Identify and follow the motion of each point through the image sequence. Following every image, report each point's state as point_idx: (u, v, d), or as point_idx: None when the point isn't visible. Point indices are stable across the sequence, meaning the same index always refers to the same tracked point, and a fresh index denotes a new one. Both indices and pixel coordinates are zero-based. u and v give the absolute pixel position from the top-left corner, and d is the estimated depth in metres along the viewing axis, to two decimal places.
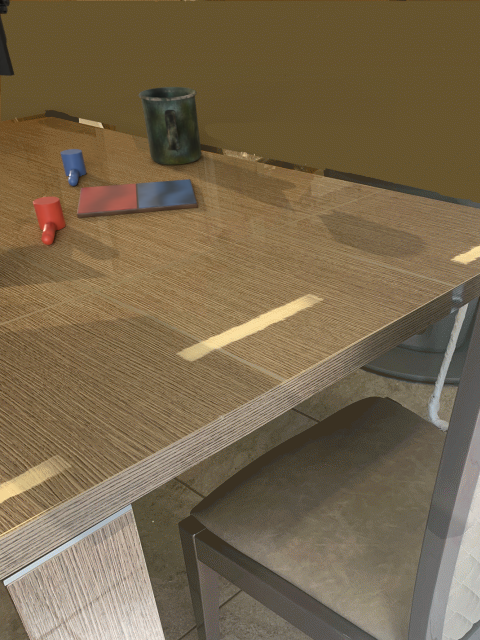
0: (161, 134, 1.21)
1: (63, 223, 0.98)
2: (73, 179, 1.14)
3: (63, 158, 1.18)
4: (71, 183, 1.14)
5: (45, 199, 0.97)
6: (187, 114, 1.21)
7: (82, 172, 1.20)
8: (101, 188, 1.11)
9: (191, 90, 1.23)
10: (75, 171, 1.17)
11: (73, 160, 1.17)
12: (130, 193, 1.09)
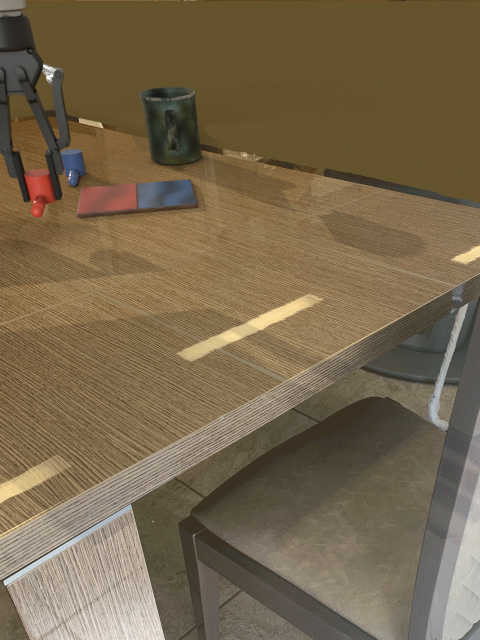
0: (161, 134, 1.21)
1: (54, 197, 0.96)
2: (73, 179, 1.14)
3: (63, 158, 1.18)
4: (71, 183, 1.14)
5: (36, 171, 0.94)
6: (187, 114, 1.21)
7: (82, 172, 1.20)
8: (101, 188, 1.11)
9: (191, 90, 1.23)
10: (75, 171, 1.17)
11: (73, 160, 1.17)
12: (130, 193, 1.09)
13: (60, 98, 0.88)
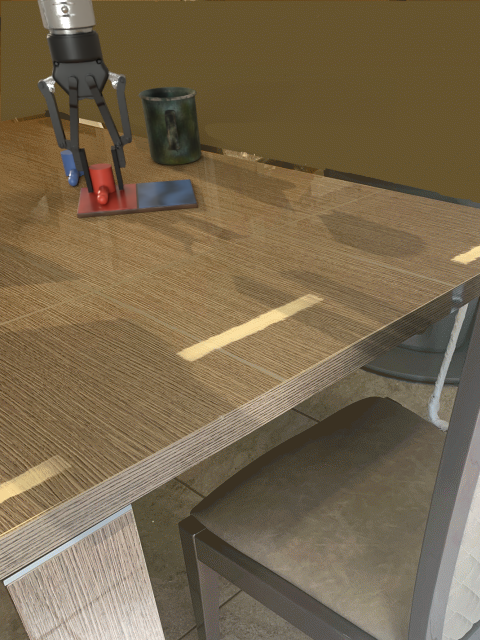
0: (161, 134, 1.21)
1: (114, 187, 1.10)
2: (73, 179, 1.14)
3: (63, 158, 1.18)
4: (71, 183, 1.14)
5: (99, 165, 1.08)
6: (187, 114, 1.21)
7: (82, 172, 1.20)
8: None
9: (191, 90, 1.23)
10: (75, 171, 1.17)
11: (73, 160, 1.17)
12: (130, 193, 1.09)
13: (124, 100, 1.02)
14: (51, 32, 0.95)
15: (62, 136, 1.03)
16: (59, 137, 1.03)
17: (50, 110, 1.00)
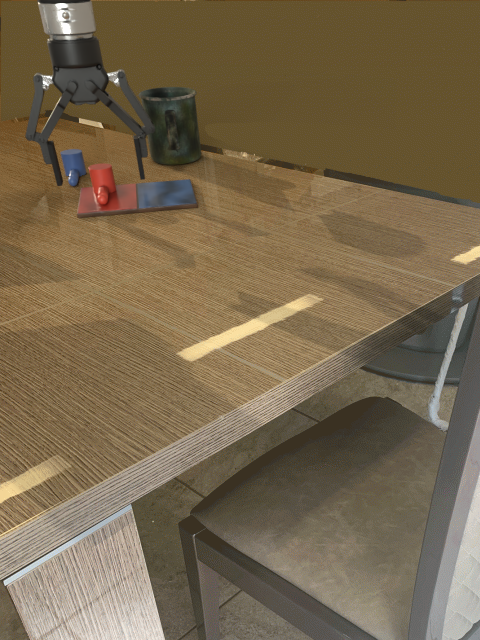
0: (161, 134, 1.21)
1: (114, 188, 1.10)
2: (73, 179, 1.14)
3: (63, 158, 1.18)
4: (71, 183, 1.14)
5: (99, 165, 1.08)
6: (187, 114, 1.21)
7: (82, 172, 1.20)
8: None
9: (191, 90, 1.23)
10: (75, 171, 1.17)
11: (73, 160, 1.17)
12: (130, 193, 1.09)
13: (131, 94, 1.02)
14: (52, 37, 0.95)
15: (34, 130, 1.02)
16: (30, 129, 1.01)
17: (34, 103, 0.99)
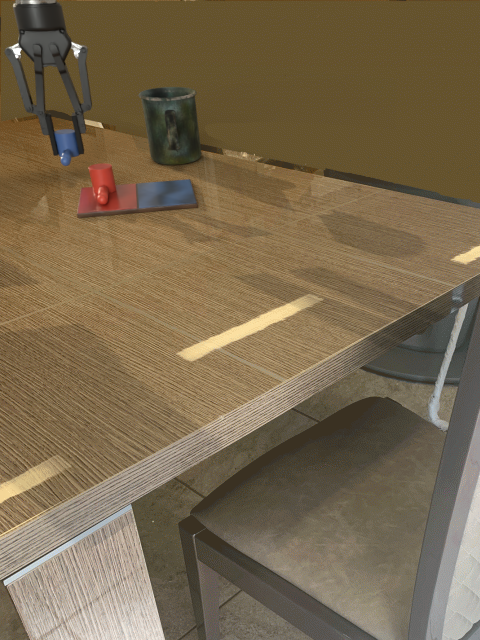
0: (161, 134, 1.21)
1: (114, 188, 1.10)
2: (65, 159, 1.11)
3: (56, 138, 1.15)
4: (63, 163, 1.12)
5: (99, 165, 1.08)
6: (187, 114, 1.21)
7: (75, 153, 1.17)
8: None
9: (191, 90, 1.23)
10: (68, 151, 1.15)
11: (66, 140, 1.15)
12: (130, 193, 1.09)
13: (85, 69, 1.10)
14: (17, 2, 1.02)
15: (29, 101, 1.11)
16: (26, 101, 1.11)
17: (17, 76, 1.08)
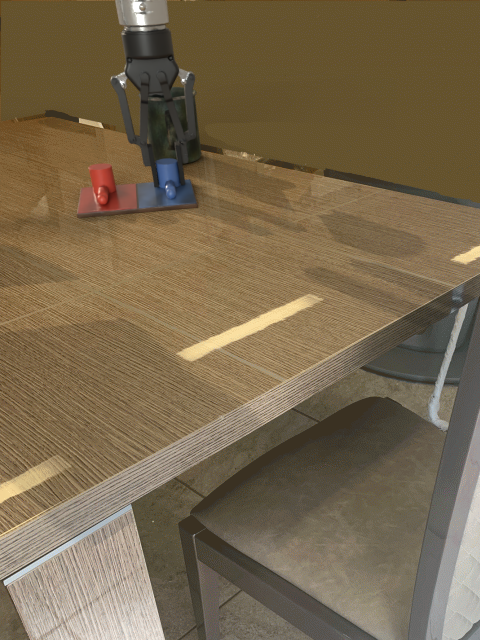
0: (161, 134, 1.21)
1: (114, 188, 1.10)
2: (172, 191, 1.06)
3: (158, 168, 1.09)
4: (169, 196, 1.06)
5: (99, 165, 1.08)
6: None
7: (177, 183, 1.11)
8: None
9: None
10: (171, 182, 1.09)
11: (168, 171, 1.09)
12: (130, 193, 1.09)
13: (191, 97, 1.04)
14: (127, 29, 0.97)
15: (132, 131, 1.05)
16: (129, 132, 1.05)
17: (122, 106, 1.03)
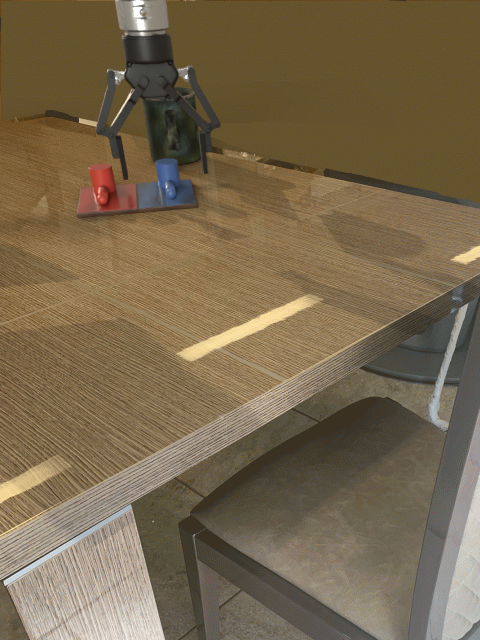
0: (161, 134, 1.21)
1: (114, 188, 1.10)
2: (172, 191, 1.06)
3: (158, 168, 1.09)
4: (169, 196, 1.06)
5: (99, 165, 1.08)
6: (187, 114, 1.21)
7: (177, 183, 1.11)
8: None
9: (191, 90, 1.23)
10: (171, 182, 1.09)
11: (168, 171, 1.09)
12: (130, 193, 1.09)
13: (199, 89, 1.04)
14: (127, 34, 0.97)
15: (104, 124, 1.04)
16: (101, 124, 1.03)
17: (106, 98, 1.01)
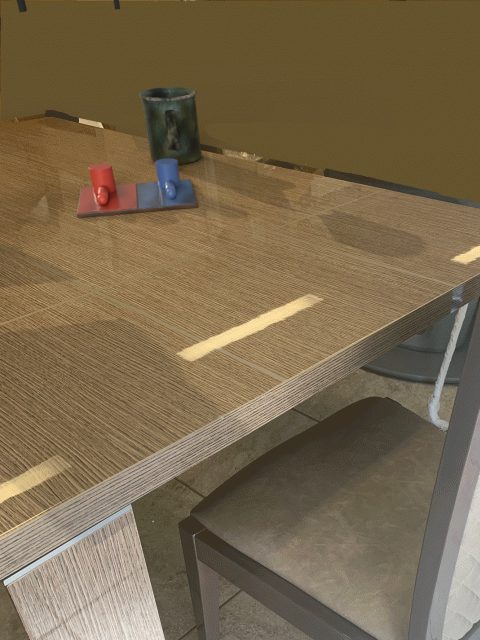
0: (161, 134, 1.21)
1: (114, 188, 1.10)
2: (172, 191, 1.06)
3: (158, 168, 1.09)
4: (169, 196, 1.06)
5: (99, 165, 1.08)
6: (187, 114, 1.21)
7: (177, 183, 1.11)
8: None
9: (191, 90, 1.23)
10: (171, 182, 1.09)
11: (168, 171, 1.09)
12: (130, 193, 1.09)
13: None
14: None
15: None
16: None
17: None
